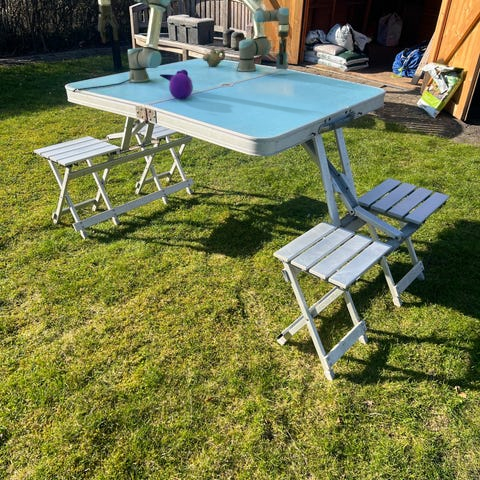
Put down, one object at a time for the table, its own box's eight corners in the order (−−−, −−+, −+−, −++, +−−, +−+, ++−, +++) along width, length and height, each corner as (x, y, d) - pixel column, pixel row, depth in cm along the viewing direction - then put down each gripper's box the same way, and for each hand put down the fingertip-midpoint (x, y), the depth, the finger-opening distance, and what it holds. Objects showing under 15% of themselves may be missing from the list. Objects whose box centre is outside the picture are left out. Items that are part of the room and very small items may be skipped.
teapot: (206, 68, 381) (205, 49, 373) (200, 66, 390) (199, 47, 382) (228, 65, 390) (227, 47, 383) (221, 64, 399) (221, 45, 391)
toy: (183, 91, 304) (192, 105, 283) (157, 86, 297) (165, 100, 276) (187, 67, 296) (198, 79, 275) (161, 62, 289) (170, 74, 268)
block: (286, 69, 343) (286, 53, 338) (276, 68, 346) (276, 53, 340) (288, 67, 349) (288, 52, 343) (278, 67, 351) (278, 51, 345)
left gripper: (98, 6, 272) (104, 43, 283) (121, 3, 292) (125, 39, 303) (87, 6, 274) (94, 43, 285) (111, 3, 294) (116, 38, 305)
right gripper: (285, 32, 325) (283, 66, 336) (291, 29, 340) (290, 61, 352) (275, 32, 327) (274, 65, 339) (281, 29, 342) (280, 61, 354)
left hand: (110, 41), depth 294 cm, fingers open, 13 cm apart
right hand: (282, 63), depth 345 cm, fingers closed on block, 6 cm apart
